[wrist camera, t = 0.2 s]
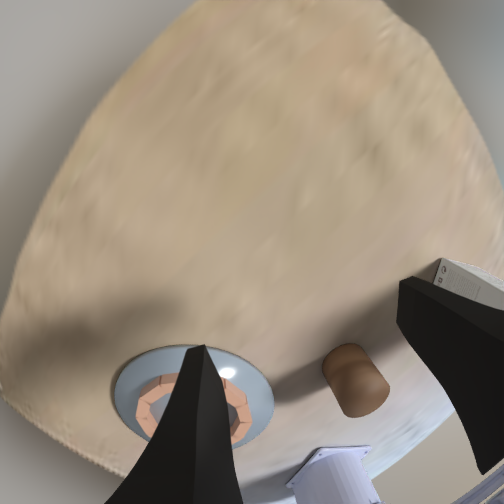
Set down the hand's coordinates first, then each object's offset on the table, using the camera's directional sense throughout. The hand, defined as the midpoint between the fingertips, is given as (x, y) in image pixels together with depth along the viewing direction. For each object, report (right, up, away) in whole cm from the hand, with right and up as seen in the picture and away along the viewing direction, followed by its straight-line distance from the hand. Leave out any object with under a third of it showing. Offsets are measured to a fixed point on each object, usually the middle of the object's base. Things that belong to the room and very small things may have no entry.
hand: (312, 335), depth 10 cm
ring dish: (-7, -11, +13) cm, 19 cm away
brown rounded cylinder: (+6, -7, +14) cm, 17 cm away
